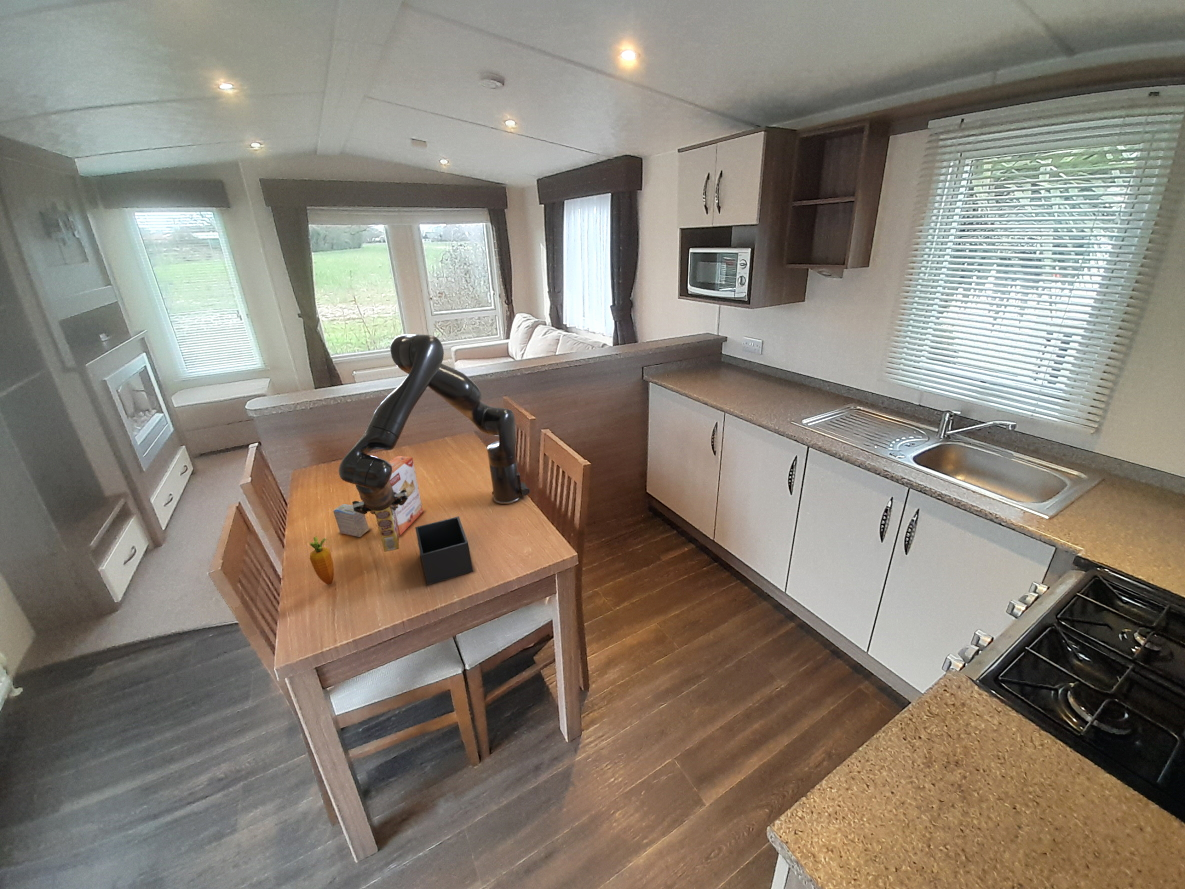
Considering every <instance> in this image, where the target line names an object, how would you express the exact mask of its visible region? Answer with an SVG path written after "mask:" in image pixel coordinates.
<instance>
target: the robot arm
mask: <svg viewBox="0 0 1185 889" xmlns="http://www.w3.org/2000/svg"><path fill="white" fill-rule="evenodd" d="M389 352H390V355H391V359H392V361H393V363H394V364H395V365H396V367H398V369H400V370H401V371H402V372H404V373H406V374H407V376H406V377H405V379H403V381H402V382H401V383H400V385H399V386H398V387H397V388H395V389H394V390H393V391H392V392H391V393H390V394H388V395H387V397H385V399H384V400H382V402H380V404H379V405H378V407H376V410H375V411H374V413H373V415H372V417H371V419H370V422H369V424H368V426H367V428H366V430H365V432H364V433H363V435H362V436H361V437H360V439H359V440H358V441H357V442H356V444H355V445H354V446H353V447H352V448H351V449H350V450H349V451H348V452H347V454H346V455H345V456H344V457H343V459H342V460H341V461H340V464H339V467H338V475H339V477H340V479H341V480H342V481H344V482H346V483H348V484H352V485H355V488H356V490H357V492H358V495H359V498H360V500H354V501H352V505H353V508H354V511H355V512H358V513H361V514H365V515H367V514H368V512H369V513H370V514H371V515H375V511H381V510H384V509H386V508H388V507H390V508H391V507H392V508H393V511H395V510H396V508H398V505H403V504H404V503H405V502H406V500H407V499H408V496H407V492H406V490H402V491H401V492H399V493H398V494H397V493H396V492H394V491H393V488H392V486H391V483H390V482H389V480H390V478H391V475H392V466H391V464H390V463H389V462H390V461H388V460H385V459H383V458H380V457H377V456H373V455H370V453H372V452H373V451H387V452H388V451H393V450H394V449H395V448H396V446H397V445H398V441H399V439H400V437H401V435H402V433H403V430H404V427H405V425H406V423H407V421H408V419H409V417H410V415H411V413H412V411H413V409H414V407H416V405H417V404H418V402H419V400H420V399H421V397H422V396H423V394H424V393H425V391H426V390H427V388H429V389H430V390H431V391H433V393H435V394H437V396H439V397H440V398H442V400H444V401H445V402H446V403H447V404H449V405H450V406H451V407H453V408H454V409H456V410H457V411H458V412H460V414H462V415H463V416H464V417H466V418H467V419H468V420H470V421H471V423H473V425H474V426H475V427H476V428H477V429H478V430H479V431H480V432H482V433H483V434H484V435H487V436H495V437H498V440H495V441H494V442H492V443H490V444H489V445H488V446H487V449H486V451H487V457H488V458H487V459H488V464H489V465H488V466H489V471H490V479H491V480H490V481H491V488H492V491H491V496H492V497H493V501H494V502H495V503H497V504H500V505H509V504H510V505H511V504H514V503H516V502H518V501H520V499H523V497H524V496H525V497H526V496H528V495H529V494H530V492H531V489H530V488H529V487H528V486H527V485H526V483H525V482H524V481H523V482H522V481H521V474H520V472H519V468H518V460H517V449H516V446H517V432H516V430H517V429H516V428H517V427H516V426H517V425H516V417H515V413H514V412H513V410H511V409H510V408H504V407H496V406H490V405H487V403H484V402H483V401H482V392H481V389H480V387H479V386H478V385H477V384H476V383H475V381H473V380H472V379H471V378H470V377H469V376H467V375H466V374H465V373H464V372H461V371H459V370H458V369H455V368H454V367H450V366H448V365H446V364H443V361H444V357H445V356H444V355H445V352H444V346H443V344H442V342H441V340H440V339H439V338H438V337H437V336H434V335H430V334H419V333H418V334H417V333H416V334H415V333H405V334H401V335H398V336H396V337H394V338H393V340H391V343H390V346H389Z"/></svg>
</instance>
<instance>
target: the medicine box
mask: <svg viewBox="0 0 1185 889" xmlns="http://www.w3.org/2000/svg"><path fill="white" fill-rule="evenodd" d="M332 512H333V515H334V518H335V521H336V523H337V524H336V525H337V527H338V531H339V533H340V534H343V535H347V536H353V537H357V538H361V537H362V536H363V535H364V534H366V533H367V532H368V531H370V527H369V525H368V520H367V517H366V514H361V513H358V512H355V511H354V508H353V504H347V503H342V504H341V505H339V506H337V507H336V508H335V509H334V510H333V511H332Z"/></svg>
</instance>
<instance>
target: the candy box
mask: <svg viewBox="0 0 1185 889" xmlns="http://www.w3.org/2000/svg"><path fill="white" fill-rule="evenodd" d="M374 516H375V520H376V523H377V527H378V531H379V535H380V540H381V544H382V548H383V552H384V553H386V552H391V551H396V550H399V549H400V535H399V530H398V525H397V521H396V516H395V512H394V511H393V508H392V507H391V508H390V507H388V508H386V509H384V510H381V511H375V514H374Z"/></svg>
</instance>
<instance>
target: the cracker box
mask: <svg viewBox="0 0 1185 889" xmlns="http://www.w3.org/2000/svg"><path fill="white" fill-rule="evenodd" d="M388 462H389V463H390V464H391V466H392V475H391V478H390V480H389V482H390V483H391V486H392V488H393V491H394V492H396V493H397V494H398V493H399V492H401V491H402V490H406V492H407V496H408V499H407V500H406V502H405V503H404V504H403V505H398V508H396V510H395V511H394V512H395V516H396V521H397V525H398V530H399V536H402V534H404V532H405V531H406V530H407V529H408V528H409V527H410V526H411V525H412V524H413V523H414V522H415V521H416V520H417V519H418V518H419V517H420V515H421V514H422V513H423V512H424V510H423V505H422V501H421V495H420V490H419V484H418V479H417V473H416V469H415V464H414V459H413V457H412V456H400V455H397V456H395V457H394V458H392V459H391V460H390V461H388Z"/></svg>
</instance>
